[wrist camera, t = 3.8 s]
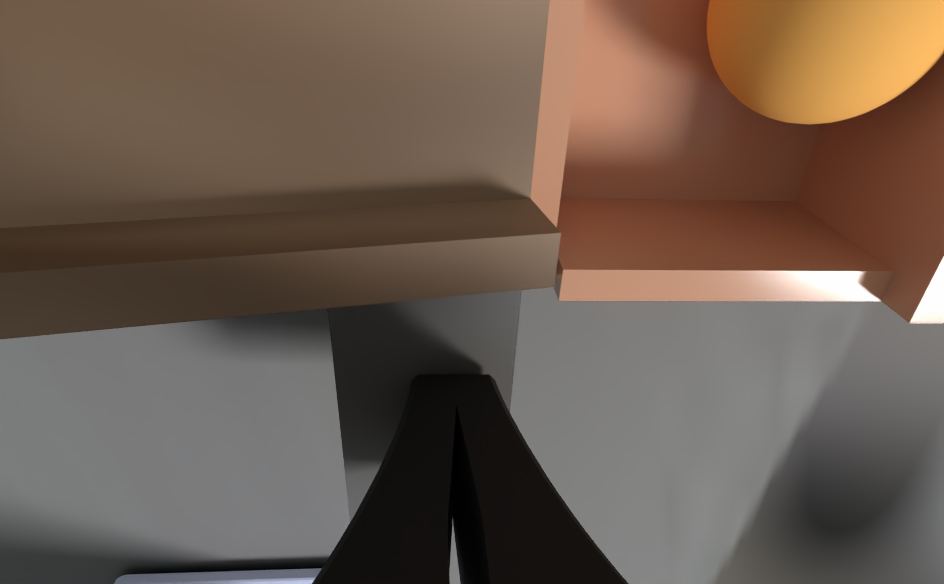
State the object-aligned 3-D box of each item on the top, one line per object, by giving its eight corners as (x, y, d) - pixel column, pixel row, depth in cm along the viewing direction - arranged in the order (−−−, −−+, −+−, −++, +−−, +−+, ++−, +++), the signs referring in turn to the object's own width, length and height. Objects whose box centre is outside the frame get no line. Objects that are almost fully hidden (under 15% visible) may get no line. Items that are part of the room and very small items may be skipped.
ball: (760, 153, 8) (652, 98, 11) (968, 150, 9) (812, 98, 12) (853, -159, 6) (695, -125, 9) (1107, -137, 7) (882, -112, 10)
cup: (796, 215, 13) (942, 322, 10) (500, 212, 13) (529, 324, 9) (987, -323, 9) (1413, -530, 5) (540, -362, 8) (633, -626, 5)
